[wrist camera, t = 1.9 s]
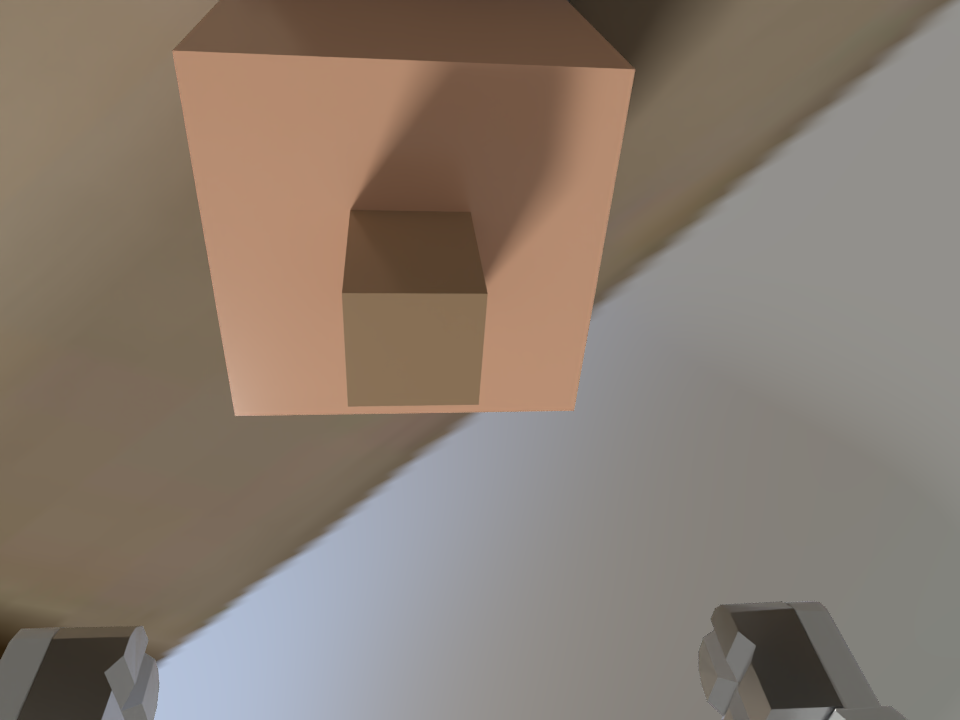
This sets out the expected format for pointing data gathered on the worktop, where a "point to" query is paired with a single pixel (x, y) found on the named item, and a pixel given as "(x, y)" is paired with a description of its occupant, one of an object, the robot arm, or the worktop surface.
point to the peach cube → (402, 198)
